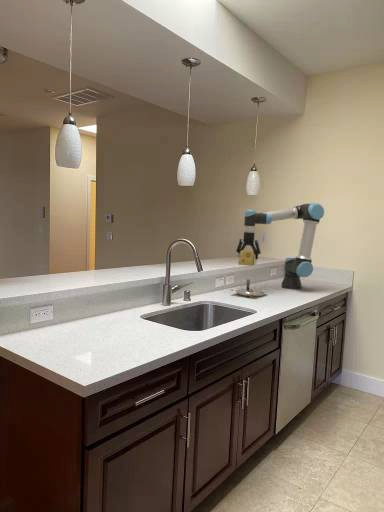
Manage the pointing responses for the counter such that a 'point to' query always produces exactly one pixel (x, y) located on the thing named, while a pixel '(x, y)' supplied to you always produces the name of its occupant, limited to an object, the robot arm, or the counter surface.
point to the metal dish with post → (249, 291)
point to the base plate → (248, 296)
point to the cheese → (246, 258)
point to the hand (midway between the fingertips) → (247, 263)
